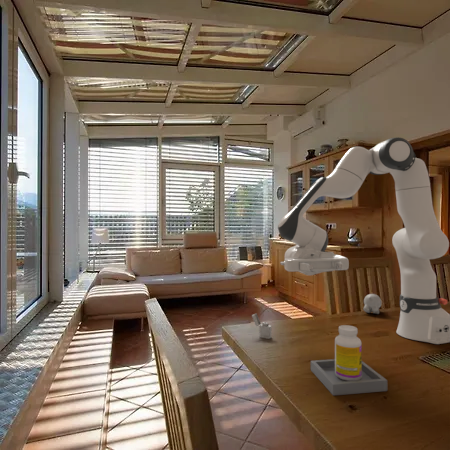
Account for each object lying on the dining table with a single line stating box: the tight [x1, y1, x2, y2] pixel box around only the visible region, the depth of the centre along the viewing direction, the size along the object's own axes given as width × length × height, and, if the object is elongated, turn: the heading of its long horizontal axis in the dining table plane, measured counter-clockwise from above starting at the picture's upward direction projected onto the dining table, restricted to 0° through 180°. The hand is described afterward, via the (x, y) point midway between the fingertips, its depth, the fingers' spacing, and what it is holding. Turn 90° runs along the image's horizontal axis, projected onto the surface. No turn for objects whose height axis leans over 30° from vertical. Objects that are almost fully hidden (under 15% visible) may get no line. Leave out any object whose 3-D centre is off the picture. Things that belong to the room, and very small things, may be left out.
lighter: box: [251, 313, 272, 340], centre depth 123 cm, size 7×2×8 cm, turn 59°
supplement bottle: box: [334, 324, 363, 381], centre depth 89 cm, size 7×7×13 cm
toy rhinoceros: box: [362, 293, 382, 315], centre depth 153 cm, size 7×12×8 cm, turn 143°
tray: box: [310, 358, 388, 396], centre depth 89 cm, size 14×14×3 cm
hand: (325, 267), depth 100 cm, fingers open, 8 cm apart
